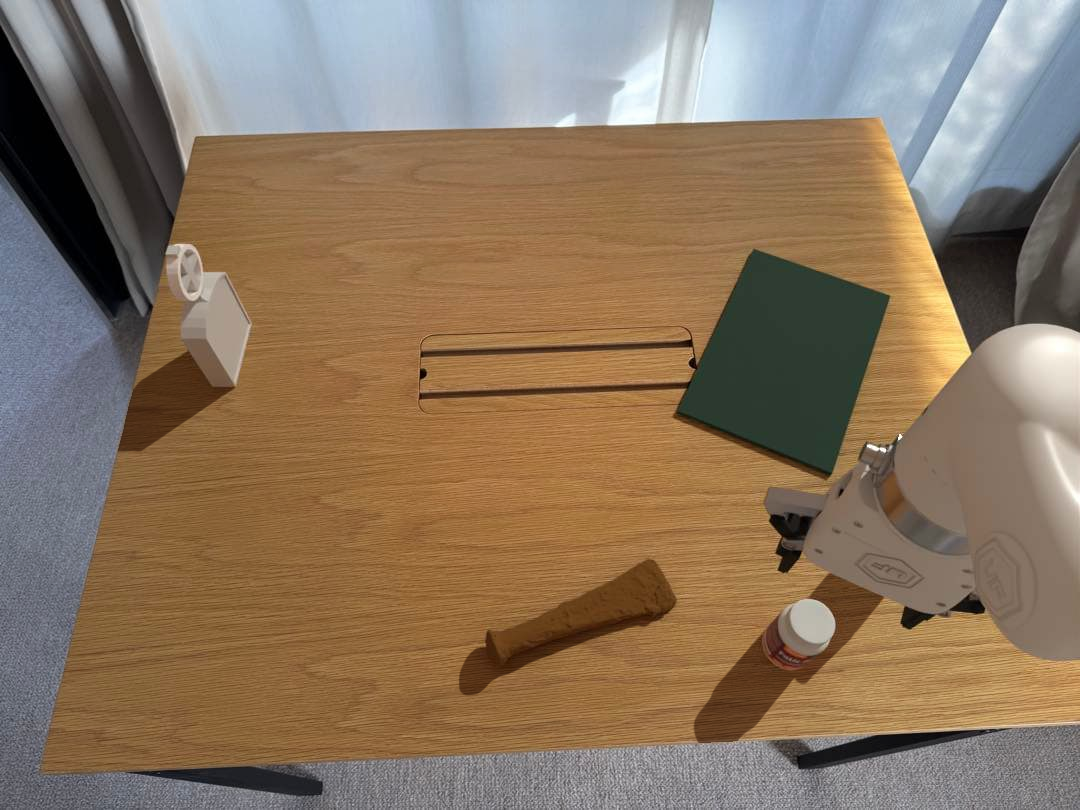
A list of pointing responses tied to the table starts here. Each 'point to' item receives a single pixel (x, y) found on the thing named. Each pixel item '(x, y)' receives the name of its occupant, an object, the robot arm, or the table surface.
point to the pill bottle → (798, 634)
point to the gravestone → (208, 315)
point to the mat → (787, 360)
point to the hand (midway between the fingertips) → (846, 582)
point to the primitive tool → (588, 611)
